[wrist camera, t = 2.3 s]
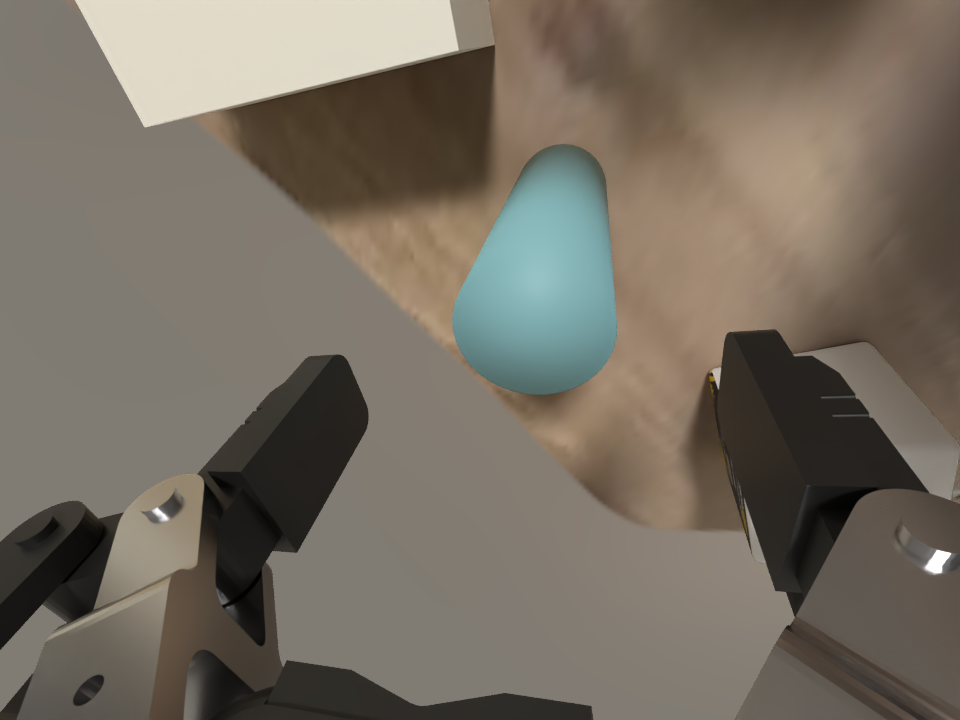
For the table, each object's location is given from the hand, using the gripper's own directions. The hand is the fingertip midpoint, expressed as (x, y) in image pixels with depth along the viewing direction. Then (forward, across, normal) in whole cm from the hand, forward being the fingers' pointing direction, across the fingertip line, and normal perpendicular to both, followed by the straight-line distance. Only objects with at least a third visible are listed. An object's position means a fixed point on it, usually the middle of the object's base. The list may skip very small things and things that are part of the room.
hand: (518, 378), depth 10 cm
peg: (+14, 0, 0) cm, 14 cm away
